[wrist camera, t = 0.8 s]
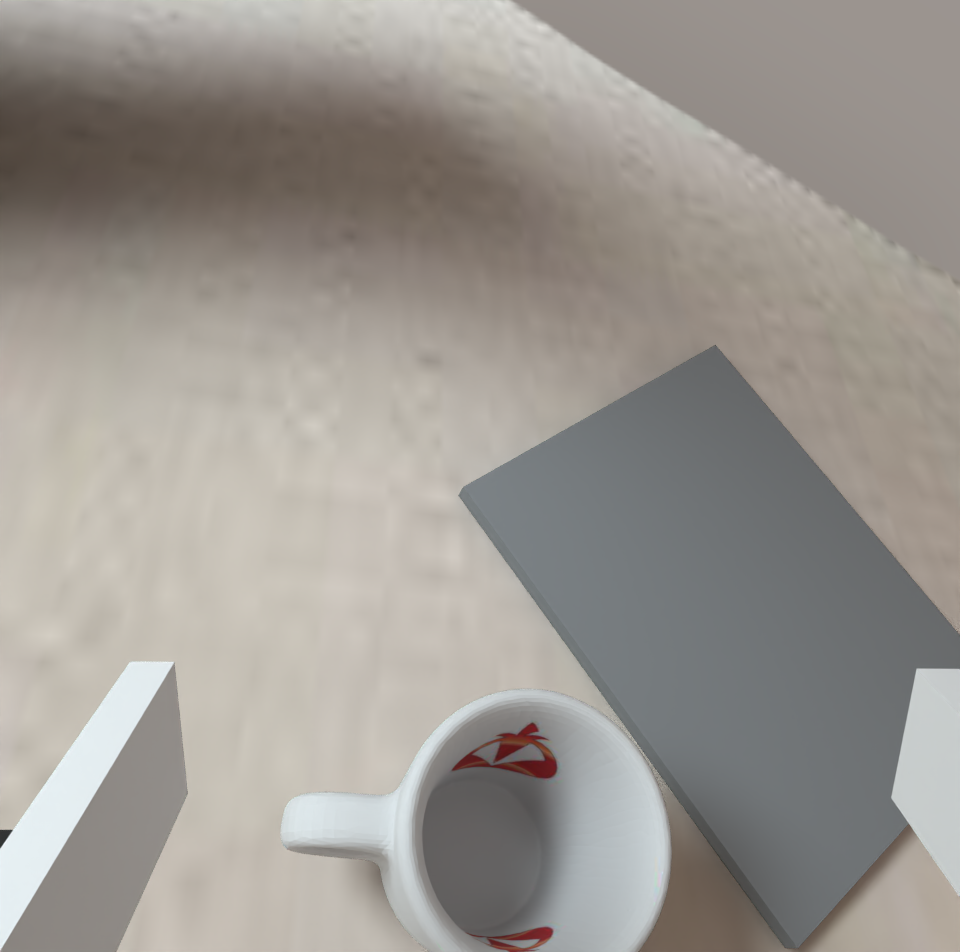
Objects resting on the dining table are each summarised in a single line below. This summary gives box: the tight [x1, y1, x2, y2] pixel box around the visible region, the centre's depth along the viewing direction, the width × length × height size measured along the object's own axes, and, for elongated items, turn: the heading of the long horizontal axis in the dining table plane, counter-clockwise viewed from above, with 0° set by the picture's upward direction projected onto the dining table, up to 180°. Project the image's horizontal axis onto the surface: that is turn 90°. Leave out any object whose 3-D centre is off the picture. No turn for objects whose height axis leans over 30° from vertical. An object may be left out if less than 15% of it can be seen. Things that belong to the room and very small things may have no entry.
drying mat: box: [459, 345, 960, 948], centre depth 38 cm, size 21×16×1 cm
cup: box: [281, 689, 672, 952], centre depth 27 cm, size 11×8×8 cm
